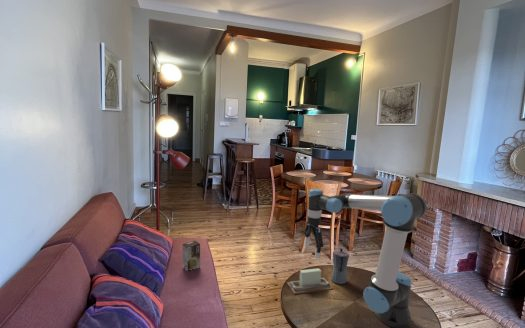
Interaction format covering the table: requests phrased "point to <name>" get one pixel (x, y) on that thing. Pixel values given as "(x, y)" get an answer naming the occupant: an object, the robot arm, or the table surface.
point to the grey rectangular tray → (309, 287)
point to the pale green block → (310, 277)
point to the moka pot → (339, 266)
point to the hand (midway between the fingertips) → (312, 252)
